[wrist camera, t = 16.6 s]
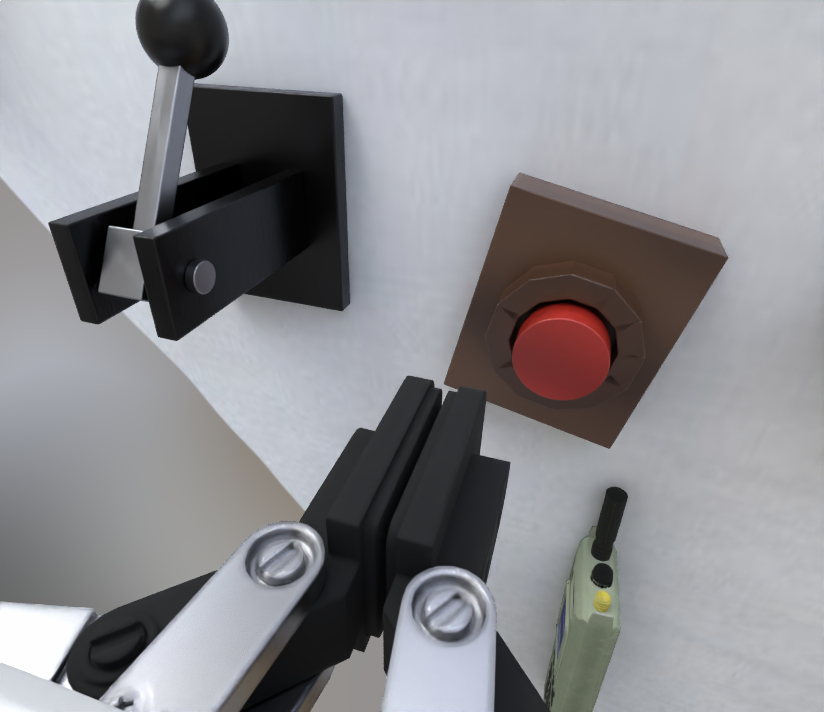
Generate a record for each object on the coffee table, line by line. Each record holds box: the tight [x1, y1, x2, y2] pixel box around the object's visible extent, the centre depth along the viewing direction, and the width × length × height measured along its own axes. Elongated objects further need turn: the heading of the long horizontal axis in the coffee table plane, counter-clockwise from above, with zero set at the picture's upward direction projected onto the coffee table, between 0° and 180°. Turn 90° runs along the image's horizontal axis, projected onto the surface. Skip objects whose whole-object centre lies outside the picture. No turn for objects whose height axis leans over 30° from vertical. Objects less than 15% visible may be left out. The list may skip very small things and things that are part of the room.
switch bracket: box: [49, 83, 350, 341], centre depth 27 cm, size 12×9×13 cm
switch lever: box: [98, 0, 229, 302], centre depth 23 cm, size 13×4×4 cm, turn 177°
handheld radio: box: [544, 487, 628, 712], centre depth 38 cm, size 7×3×25 cm
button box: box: [444, 173, 728, 449], centre depth 28 cm, size 12×10×4 cm
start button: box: [512, 303, 611, 400], centre depth 26 cm, size 4×4×2 cm
